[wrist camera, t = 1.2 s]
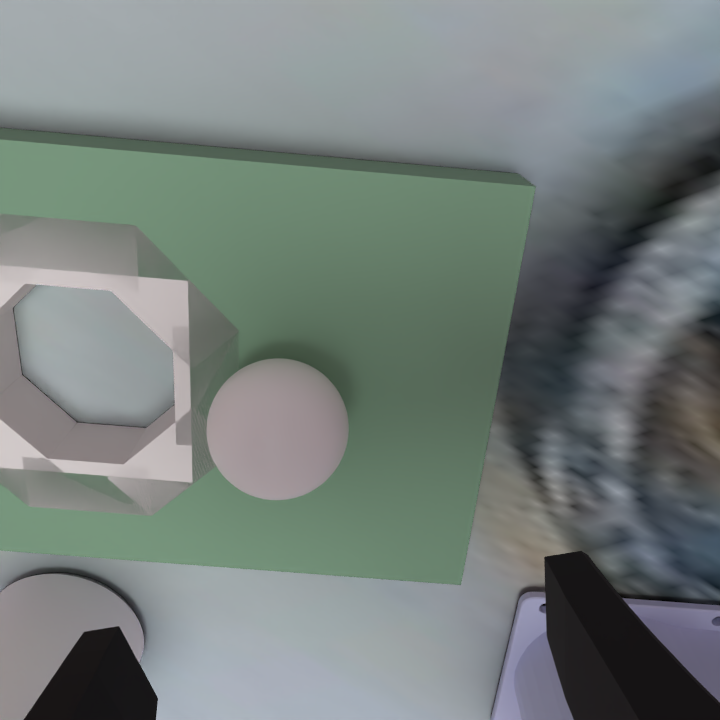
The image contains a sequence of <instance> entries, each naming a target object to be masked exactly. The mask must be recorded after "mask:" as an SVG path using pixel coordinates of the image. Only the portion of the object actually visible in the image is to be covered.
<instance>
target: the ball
mask: <svg viewBox="0 0 720 720" xmlns="http://www.w3.org/2000/svg"><path fill="white" fill-rule="evenodd" d="M206 433H207V442H208V446H209V451H210V454H211V456H212V459H213V461H214V463H215V464H216V466H217V468H218V470H219V471H220V472H221V474H222V475H223V476H224V477H225V478H226V479H227V480H228V481H229V482H230V483H231V484H232V485H234V486H235V487H236V488H238V489H239V490H241V491H242V492H244V493H246V494H249V495H251V496H254V497H257V498H261V499H266V500H287V499H292V498H296V497H299V496H303V495H305V494H307V493H309V492H311V491H313V490H314V489H316V488H317V487H319V486H320V485H322V484H323V483H324V482H325V481H326V480H327V479H328V478H329V477H330V476H331V475H332V474H333V472H334V471H335V470H336V468H337V467H338V465H339V463H340V461H341V459H342V457H343V455H344V452H345V449H346V446H347V441H348V435H349V424H348V415H347V411H346V408H345V405H344V402H343V400H342V397H341V395H340V394H339V392H338V390H337V389H336V387H335V386H334V385H333V384H332V383H331V381H330V380H329V379H328V378H327V377H326V376H325V375H324V374H322V373H321V372H320V371H318V370H317V369H315V368H313V367H311V366H310V365H307V364H305V363H302V362H299V361H296V360H291V359H284V358H274V359H266V360H261V361H258V362H255V363H252V364H250V365H247V366H245V367H244V368H242V369H240V370H239V371H237V372H236V373H234V374H233V375H232V376H231V377H230V378H229V379H228V380H227V381H226V382H225V383H224V384H223V385H222V386H221V388H220V389H219V391H218V392H217V394H216V396H215V397H214V399H213V402H212V404H211V407H210V410H209V413H208V418H207V431H206Z"/></svg>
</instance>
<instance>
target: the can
mask: <svg viewBox="0 0 720 720" xmlns="http://www.w3.org/2000/svg"><path fill="white" fill-rule="evenodd" d="M116 626H119V627H120V629H121V630H122V632H123V634H124V636H125V638H126V640H127V642H128V643H129V645H130V647H131V649H132V651H133V653H134V655H135V657H136V658H137V660H138V662H139V663H140V660H141V657H142V654H143V649H144V635H143V631H142V627H141V625H140V623H139V620H138V619H137V617H136V615H135V613H134V611H133V610H132V608H131V607H130V606H129V604H128V603H127V602H126V601H125V600H124V599H123V598H122V597H121V596H120V595H119V594H118V593H116V592H115V591H114V590H112V589H111V588H109V587H107V586H106V585H104V584H102V583H100V582H98V581H95V580H93V579H90V578H87V577H84V576H80V575H75V574H69V573H47V574H41V575H35V576H30V577H27V578H24V579H21V580H18V581H16V582H14V583H12V584H11V585H9V586H8V587H6V588H5V589H4V590H3V591H2V592H1V593H0V720H24V718H25V717H26V715H27V714H28V712H29V711H30V710H31V708H32V707H33V705H34V704H35V702H36V701H37V699H38V698H39V696H40V695H41V693H42V692H43V691H44V689H45V688H46V686H47V685H48V683H49V682H50V680H51V679H52V677H53V676H54V674H55V673H56V671H57V670H58V668H59V667H60V666H61V664H62V663H63V661H64V660H65V658H66V657H67V655H68V654H69V652H70V651H71V649H72V648H73V647H74V645H75V644H76V642H77V641H78V639H79V638H80V637H81V635H82V634H83V633H84V632H86V631H92V630H98V629H104V628H110V627H116Z"/></svg>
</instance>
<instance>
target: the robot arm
mask: <svg viewBox="0 0 720 720" xmlns="http://www.w3.org/2000/svg"><path fill="white" fill-rule="evenodd" d="M544 559H545V592H527V593H525V594H523V595H522V596H521V597H520V599H519V602H518V606H517V611H516V615H515V619H514V623H513V627H512V632H511V636H510V640H509V644H508V649H507V653H506V657H505V661H504V665H503V670H502V674H501V678H500V682H499V686H498V691H497V695H496V699H495V703H494V708H493V712H492V716H491V720H720V605H707V604H694V603H681V602H667V601H654V600H640V599H627V598H622V597H621V596H620V595H619V594H618V593H617V591H616V590H615V589H614V588H613V587H612V585H611V584H610V583H609V582H608V580H607V579H606V578H605V577H604V575H603V574H602V573H601V572H600V570H599V569H598V568H597V567H596V565H595V564H594V563H593V561H592V560H591V559H590V557H589V556H588V555H587V554H585V553H584V552H582V551H578V552H572V553H566V554H560V555H553V556H547V557H544ZM545 603H546V606H540V605H542V604H545ZM718 616H719V617H718ZM715 617H717V618H715ZM157 701H158V698H157V696H156V694H155V692H154V690H153V688H152V686H151V685H150V683H149V681H148V679H147V677H146V675H145V673H144V671H143V670H142V668H141V666H140V664H139V662H138V660H137V658H136V657H135V655H134V653H133V651H132V649H131V647H130V645H129V643H128V642H127V640H126V638H125V636H124V634H123V632H122V630H121V629H120V627H119V626H116V627H110V628H104V629H98V630H92V631H86V632H84V633H83V634H82V635H81V637H80V638H79V639H78V641H77V642H76V644H75V645H74V647H73V648H72V649H71V651H70V652H69V654H68V655H67V657H66V658H65V660H64V661H63V663H62V664H61V666H60V667H59V668H58V670H57V671H56V673H55V674H54V676H53V677H52V679H51V680H50V682H49V683H48V685H47V686H46V688H45V689H44V691H43V692H42V693H41V695H40V696H39V698H38V699H37V701H36V702H35V704H34V705H33V707H32V708H31V710H30V711H29V712H28V714H27V715H26V717H25V718H24V720H156V712H157Z"/></svg>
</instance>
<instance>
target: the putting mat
mask: <svg viewBox="0 0 720 720" xmlns="http://www.w3.org/2000/svg"><path fill="white" fill-rule="evenodd" d="M535 188H536V186H534V185H533V184H531V183H530V182H529V181H527V180H526V179H525V178H523V177H522V176H520V175H519V174H517V173H506V172H495V171H484V170H472V169H461V168H450V167H438V166H427V165H416V164H404V163H393V162H382V161H370V160H359V159H348V158H337V157H325V156H314V155H303V154H291V153H280V152H269V151H257V150H246V149H235V148H224V147H212V146H201V145H190V144H178V143H167V142H156V141H144V140H133V139H122V138H110V137H99V136H88V135H77V134H65V133H54V132H43V131H31V130H20V129H9V128H0V550H1V551H14V552H27V553H41V554H54V555H67V556H81V557H94V558H107V559H121V560H134V561H147V562H161V563H174V564H188V565H201V566H214V567H228V568H241V569H254V570H268V571H281V572H294V573H308V574H321V575H334V576H348V577H361V578H374V579H388V580H401V581H414V582H428V583H441V584H454V585H461V581H462V576H463V571H464V565H465V560H466V555H467V550H468V544H469V539H470V534H471V528H472V523H473V518H474V512H475V507H476V502H477V496H478V491H479V486H480V480H481V475H482V470H483V465H484V459H485V454H486V449H487V443H488V438H489V433H490V427H491V422H492V417H493V411H494V406H495V401H496V395H497V390H498V385H499V380H500V374H501V369H502V364H503V358H504V353H505V348H506V342H507V337H508V332H509V326H510V321H511V316H512V310H513V305H514V300H515V294H516V289H517V284H518V279H519V273H520V268H521V263H522V257H523V252H524V247H525V241H526V236H527V231H528V225H529V220H530V215H531V209H532V204H533V199H534V194H535ZM36 285H48V286H60V287H72V288H84V289H96V290H108V291H111V292H113V293H114V294H115V295H116V296H117V297H118V298H119V299H120V300H121V301H122V302H123V303H124V304H125V305H126V306H127V307H128V308H129V309H130V310H131V311H132V312H133V313H134V314H135V315H136V316H137V317H138V318H139V319H140V320H142V321H143V322H144V323H145V324H146V325H147V326H148V327H149V328H150V329H151V330H152V331H153V332H154V333H155V334H156V335H157V336H158V337H159V338H160V339H161V340H162V341H163V342H164V343H165V344H166V345H167V346H168V347H170V348H171V349H172V350H173V366H174V395H175V405H173V406H172V407H171V408H170V409H168V410H167V411H166V412H165V413H164V414H162V415H161V416H160V417H159V418H158V419H156V420H155V421H154V422H153V423H152V424H150V425H149V426H148V427H147V428H140V427H127V426H114V425H102V424H89V423H77V422H76V421H75V420H74V419H72V418H71V417H70V416H69V415H68V414H67V413H66V412H64V411H63V410H62V409H61V408H60V407H59V406H57V405H56V404H55V403H54V402H53V401H52V400H51V399H49V398H48V397H47V396H46V395H45V394H44V393H42V392H41V391H40V390H39V389H38V388H37V387H36V386H34V385H33V384H32V383H31V382H30V381H29V380H27V379H26V378H25V377H24V376H23V375H22V371H21V364H20V356H19V349H18V342H17V335H16V328H15V320H14V313H13V307H14V306H15V305H16V304H17V303H18V302H19V301H20V300H21V299H22V298H23V297H24V296H25V295H26V294H28V293H29V292H30V291H31V290H32V289H33V288H34V287H35V286H36ZM274 358H284V359H291V360H296V361H299V362H302V363H305V364H307V365H310V366H311V367H313V368H315V369H317V370H318V371H320V372H321V373H322V374H324V375H325V376H326V377H327V378H328V379H329V380H330V381H331V383H332V384H333V385H334V386H335V387H336V389H337V390H338V392H339V394H340V395H341V397H342V400H343V402H344V405H345V408H346V411H347V415H348V424H349V435H348V441H347V446H346V449H345V452H344V455H343V457H342V459H341V461H340V463H339V465H338V467H337V468H336V470H335V471H334V472H333V474H332V475H331V476H330V477H329V478H328V479H327V480H326V481H325V482H324V483H323V484H322V485H320V486H319V487H317V488H316V489H314V490H313V491H311V492H309V493H307V494H305V495H303V496H299V497H296V498H292V499H287V500H266V499H261V498H257V497H254V496H251V495H249V494H246V493H244V492H242V491H241V490H239V489H238V488H236V487H235V486H234V485H232V484H231V483H230V482H229V481H228V480H227V479H226V478H225V477H224V476H223V475H222V474H221V472H220V471H219V470H218V468H217V466H216V464H215V463H214V461H213V459H212V456H211V454H210V451H209V446H208V442H207V433H206V431H207V418H208V413H209V410H210V407H211V404H212V402H213V399H214V397H215V396H216V394H217V392H218V391H219V389H220V388H221V386H222V385H223V384H224V383H225V382H226V381H227V380H228V379H229V378H230V377H231V376H232V375H233V374H234V373H236V372H237V371H239V370H240V369H242V368H244V367H245V366H247V365H250V364H252V363H255V362H258V361H261V360H266V359H274Z"/></svg>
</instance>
